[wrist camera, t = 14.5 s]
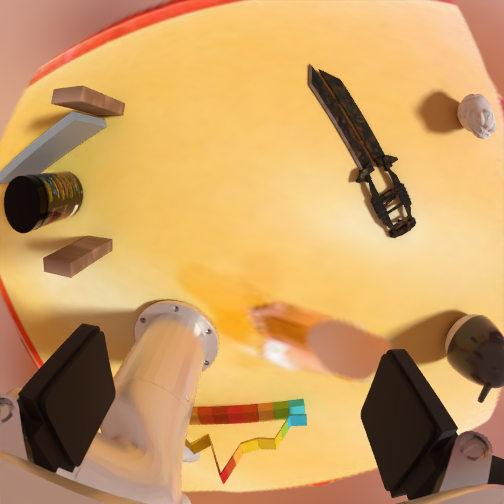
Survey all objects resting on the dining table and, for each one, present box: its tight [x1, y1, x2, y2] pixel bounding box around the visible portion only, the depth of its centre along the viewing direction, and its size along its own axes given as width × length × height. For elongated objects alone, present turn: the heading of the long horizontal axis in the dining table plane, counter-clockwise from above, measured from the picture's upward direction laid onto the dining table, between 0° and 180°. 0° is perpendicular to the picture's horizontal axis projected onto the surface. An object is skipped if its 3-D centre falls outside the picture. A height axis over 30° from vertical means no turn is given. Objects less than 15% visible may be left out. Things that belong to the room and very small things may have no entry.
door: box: [0, 111, 107, 184], centre depth 31 cm, size 15×2×8 cm, turn 112°
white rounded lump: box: [457, 94, 497, 139], centre depth 30 cm, size 6×7×7 cm
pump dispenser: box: [445, 314, 504, 403], centre depth 35 cm, size 10×10×15 cm
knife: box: [309, 64, 416, 238], centre depth 35 cm, size 25×6×1 cm, turn 27°
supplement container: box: [4, 171, 83, 233], centre depth 32 cm, size 7×7×10 cm
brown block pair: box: [43, 86, 125, 278], centre depth 31 cm, size 20×4×11 cm, turn 172°
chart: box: [185, 399, 307, 484], centre depth 40 cm, size 30×3×15 cm, turn 97°
